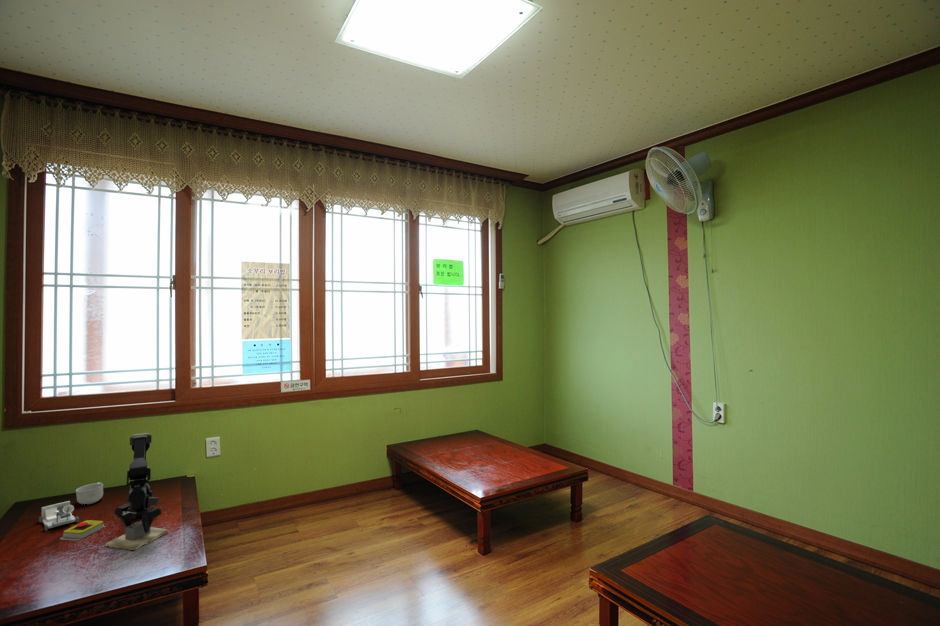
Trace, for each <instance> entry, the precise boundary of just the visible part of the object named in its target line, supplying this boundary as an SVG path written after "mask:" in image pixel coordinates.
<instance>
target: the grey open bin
mask: <svg viewBox="0 0 940 626" xmlns="http://www.w3.org/2000/svg"><path fill="white" fill-rule="evenodd" d="M140 522H142V519H141V520H139V521H136V522H134V523H132V525H130V526H128V527H125V529H124V530H125V532H124V534H125V539H126V540H132V541H135V540H137V539H139V538H141V537H143V536H145V535H147V534H149V533H150V529H149V531H148V532H147V533H145V531H144V528H143V524H141V525H139V526H137V527H135V528H134V527H133V526H134V525H136V524H138V523H140Z"/></svg>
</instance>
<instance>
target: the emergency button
mask: <svg viewBox="0 0 940 626" xmlns="http://www.w3.org/2000/svg"><path fill="white" fill-rule="evenodd" d="M103 527H104V528H106V527H105V526H104V521H103V520H91V519H86V520H84V521H82V522H79V523H76V524H75V525H73V526H71V527H69V528H67V529H65V530H63V533H62V534H63V535H62V537H60V538H59V540H61V541H73V542H74V541H75V542H77V541H81V540H83V539H85V538H87V537H88V536H90V535H92V534H95V533H97V532H98V531H101V530H102V529H103ZM101 528H102V529H101ZM84 537H85V538H84Z"/></svg>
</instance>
